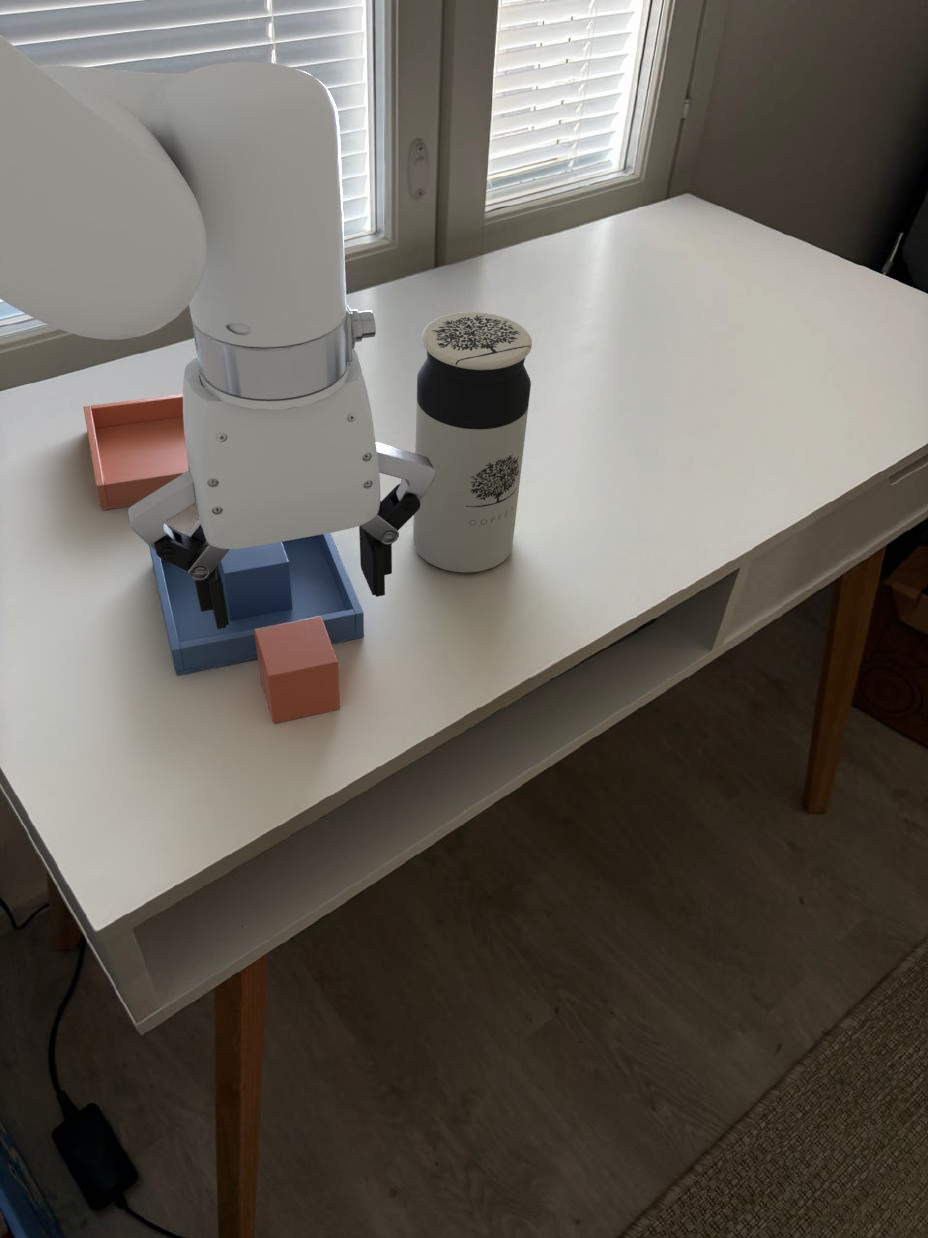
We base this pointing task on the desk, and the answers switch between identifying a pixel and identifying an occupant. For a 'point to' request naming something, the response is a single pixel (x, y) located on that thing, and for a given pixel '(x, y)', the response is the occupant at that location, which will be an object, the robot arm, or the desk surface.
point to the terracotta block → (297, 669)
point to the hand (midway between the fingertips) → (297, 597)
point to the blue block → (256, 581)
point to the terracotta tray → (135, 447)
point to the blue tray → (314, 594)
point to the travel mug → (471, 438)
